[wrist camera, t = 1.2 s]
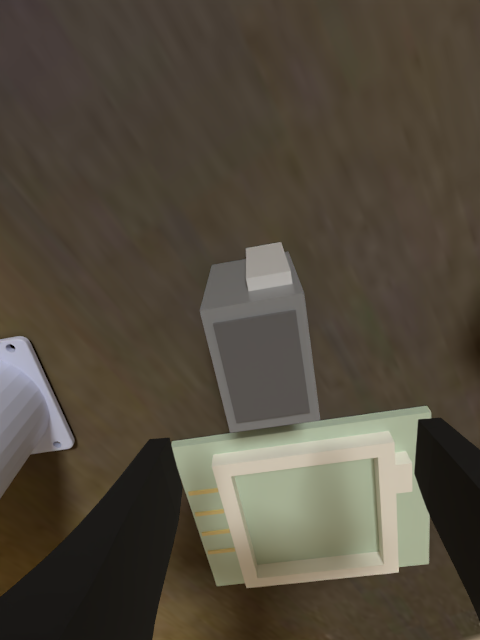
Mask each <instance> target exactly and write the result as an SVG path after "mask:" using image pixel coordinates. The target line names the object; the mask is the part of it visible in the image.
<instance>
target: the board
mask: <svg viewBox="0 0 480 640" xmlns="http://www.w3.org/2000/svg"><path fill="white" fill-rule="evenodd" d="M430 418H431V411H430V409H429V408H428V407H427V406H422V407H415V408H407V409H400V410H393V411H386V412H379V413H372V414H364V415H357V416H350V417H343V418H336V419H329V420H321V421H314V422H307V423H300V424H293V425H286V426H278V427H271V428H264V429H257V430H250V431H243V432H236V433H228V434H221V435H214V436H207V437H200V438H193V439H185V440H178V441H172V445H171V446H172V450H173V453H174V457H175V461H176V465H177V468H178V471H179V474H180V477H181V480H182V483H183V486H184V489H185V492H186V495H187V498H188V501H189V504H190V507H191V510H192V513H193V516H194V519H195V522H196V525H197V528H198V531H199V534H200V537H201V540H202V543H203V546H204V549H205V552H206V555H207V558H208V561H209V564H210V567H211V570H212V573H213V576H214V579H215V582H216V585H217V586H224V585H233V584H243V583H245V585H246V588H254V587H263V586H273V585H282V584H292V583H302V582H311V581H321V580H330V579H340V578H349V577H359V576H369V575H378V574H388V573H397V572H399V567H404V566H414V565H423V564H429V523H430V515H429V513H428V511H427V508H426V506H425V503H424V500H423V497H422V495H421V492H420V489H419V486H418V483H417V480H416V477H415V474H414V469H415V455H416V442H417V428H418V419H430Z"/></svg>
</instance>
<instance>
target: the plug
mask: <svg viewBox="0 0 480 640" xmlns="http://www.w3.org/2000/svg"><path fill="white" fill-rule="evenodd" d="M200 314H201V318H202V322H203V326H204V330H205V334H206V338H207V342H208V346H209V350H210V354H211V358H212V362H213V366H214V370H215V374H216V378H217V382H218V386H219V390H220V394H221V398H222V402H223V406H224V410H225V414H226V418H227V422H228V426H229V430H230V433H233V432H240V431H247V430H254V429H261V428H269V427H276V426H283V425H290V424H297V423H304V422H312V421H319V420H320V414H319V406H318V399H317V391H316V383H315V375H314V367H313V359H312V352H311V344H310V336H309V328H308V320H307V313H306V305H305V297H304V292H303V289H302V286H301V284H300V281H299V279H298V276H297V273H296V271H295V268H294V265H293V263H292V260H291V257H290V255H289V252H284V250H283V247H282V244H281V242H278V243H273V244H267V245H262V246H256V247H251V248H246V259H243V260H238V261H232V262H226V263H221V264H215V265H212V267H211V270H210V274H209V278H208V282H207V285H206V289H205V293H204V297H203V300H202V304H201V308H200Z"/></svg>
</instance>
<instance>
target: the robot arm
mask: <svg viewBox="0 0 480 640" xmlns="http://www.w3.org/2000/svg"><path fill="white" fill-rule="evenodd" d="M10 344H11V345H13V346H14V347H15V349H13V348H11V346H10ZM56 441H58V442H60V443H58V442H56ZM74 442H75V439H74V437H73V435H72V432H71V430H70V428H69V426H68V424H67V421H66V419H65V417H64V415H63V413H62V411H61V408H60V406H59V404H58V402H57V400H56V397H55V395H54V393H53V391H52V389H51V386H50V384H49V382H48V380H47V378H46V376H45V373H44V371H43V369H42V367H41V365H40V362H39V360H38V358H37V356H36V354H35V351H34V349H33V347H32V345H31V343H30V341H29V340H28V339H27V338H25V337H23V336H17V337H11V338H5V339H0V498H1V497H2V495H3V494H4V492H5V491H6V489H7V488H8V487H9V485H10V484H11V482H12V481H13V479H14V478H15V476H16V475H17V473H18V472H19V470H20V469H21V467H22V466H23V465H24V463H25V462H26V460H27V459H28V457H29V456H30V454H36V453H43V452H50V451H57V450H64V449H69V448H71V447H72V446H73V444H74ZM414 474H415V477H416V480H417V483H418V486H419V489H420V492H421V495H422V497H423V500H424V503H425V506H426V508H427V511H428V513H429V515H430V517H431V519H432V521H433V523H434V525H435V527H436V529H437V531H438V534H439V536H440V538H441V540H442V542H443V544H444V546H445V548H446V550H447V552H448V554H449V556H450V558H451V560H452V562H453V564H454V566H455V568H456V570H457V572H458V574H459V576H460V579H461V581H462V583H463V585H464V587H465V589H466V591H467V593H468V595H469V597H470V600H471V602H472V604H473V606H474V609H475V611H476V613H477V616H478V618H479V621H480V450H479V449H478V448H477V447H476V446H474V445H473V444H472V443H471V442H469V441H468V440H467V439H466V438H465V437H463V436H462V435H461V434H460V433H459V432H457V431H456V430H455V429H454V428H453V427H451V426H450V425H449V424H448V423H447V422H445V421H444V420H443V419H442V418H430V419H418V428H417V442H416V455H415V469H414ZM181 497H182V484H181V480H180V476H179V472H178V469H177V465H176V461H175V457H174V453H173V450H172V446H171V442H170V438H160V439H150V440H149V441H148V442H147V443H146V444H145V446H144V447H143V448H142V449H141V451H140V452H139V453H138V454H137V456H136V457H135V458H134V460H133V461H132V462H131V463H130V465H129V466H128V467H127V469H126V470H125V471H124V472H123V474H122V475H121V476H120V477H119V479H118V480H117V481H116V482H115V483H114V485H113V486H112V487H111V488H110V490H109V491H108V492H107V493H106V494H105V496H104V497H103V498H102V499H101V500H100V501H99V503H98V504H97V505H96V506H95V507H94V508H93V509H92V510H91V512H90V513H89V514H88V515H87V516H86V517H85V518H84V519H83V521H82V522H81V523H80V524H79V525H78V526H77V527H76V528H75V529H74V530H73V531H72V532H71V533H70V534H69V535H68V536H67V537H66V538H65V540H64V541H62V542H61V543H60V544H59V545H58V546H57V547H56V548H55V549H54V550H53V551H52V552H51V553H50V554H49V555H48V556H47V557H46V558H45V559H44V560H43V561H42V562H40V563H39V564H38V565H37V566H36V567H35V568H34V569H32V570H31V571H30V572H29V573H28V574H27V575H25V576H24V577H23V578H22V579H21V580H20V581H19V582H17V583H16V584H15V585H14V586H13V587H12V588H10V589H9V590H8V591H7V592H6V593H5V594H3V595H2V596H1V597H0V640H152V637H153V631H154V624H155V619H156V614H157V609H158V604H159V600H160V596H161V592H162V588H163V584H164V580H165V576H166V572H167V567H168V563H169V559H170V555H171V551H172V547H173V543H174V538H175V534H176V530H177V526H178V521H179V513H180V506H181Z"/></svg>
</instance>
